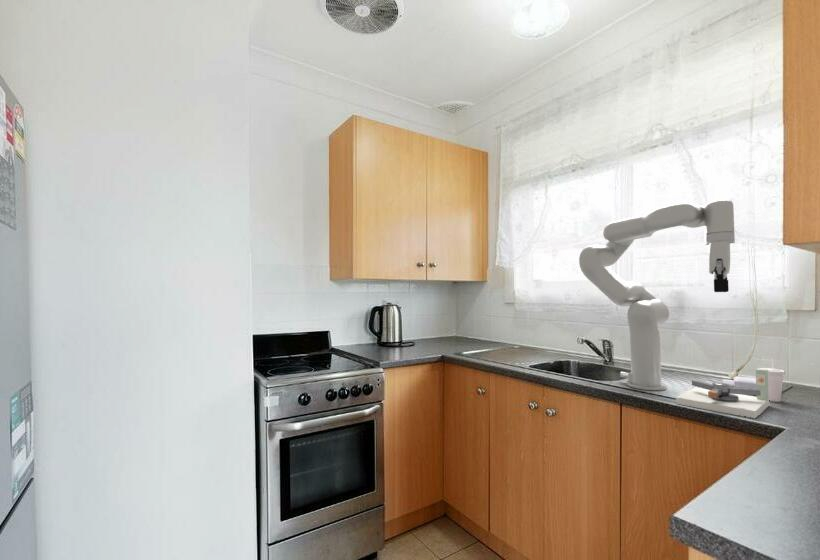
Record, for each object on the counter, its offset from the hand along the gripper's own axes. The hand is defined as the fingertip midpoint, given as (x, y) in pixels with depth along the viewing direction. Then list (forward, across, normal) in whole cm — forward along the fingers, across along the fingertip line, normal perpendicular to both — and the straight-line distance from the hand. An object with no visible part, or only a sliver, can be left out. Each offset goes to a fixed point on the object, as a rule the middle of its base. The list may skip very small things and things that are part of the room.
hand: (721, 291), depth 127 cm
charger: (+35, -19, +4) cm, 40 cm away
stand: (+35, +6, -1) cm, 35 cm away
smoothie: (+35, -10, +11) cm, 38 cm away
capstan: (+33, +9, -1) cm, 34 cm away
